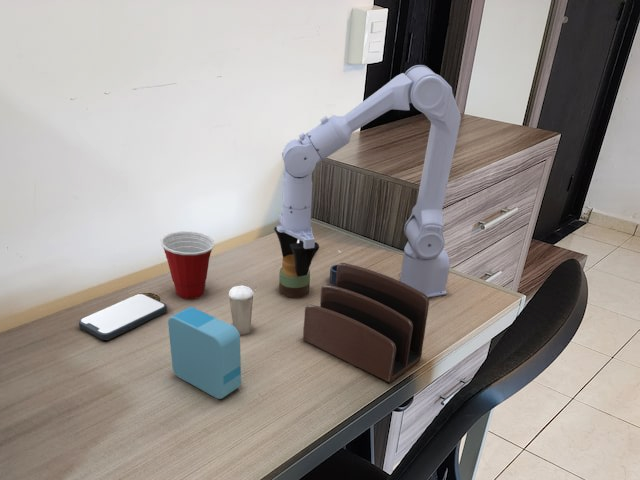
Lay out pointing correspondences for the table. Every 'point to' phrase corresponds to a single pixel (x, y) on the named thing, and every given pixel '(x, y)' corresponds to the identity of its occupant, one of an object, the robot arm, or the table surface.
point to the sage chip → (294, 280)
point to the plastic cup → (188, 261)
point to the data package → (205, 352)
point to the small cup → (333, 274)
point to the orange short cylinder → (289, 265)
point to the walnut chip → (293, 291)
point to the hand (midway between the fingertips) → (295, 267)
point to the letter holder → (369, 321)
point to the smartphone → (122, 316)
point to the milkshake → (241, 308)
